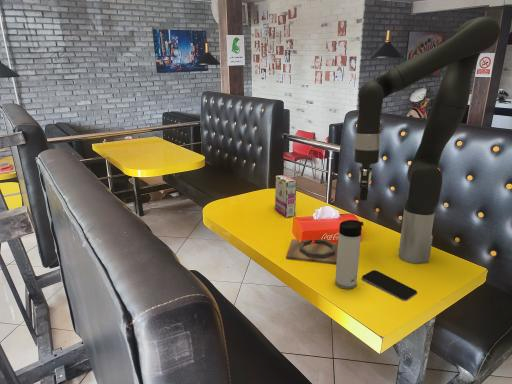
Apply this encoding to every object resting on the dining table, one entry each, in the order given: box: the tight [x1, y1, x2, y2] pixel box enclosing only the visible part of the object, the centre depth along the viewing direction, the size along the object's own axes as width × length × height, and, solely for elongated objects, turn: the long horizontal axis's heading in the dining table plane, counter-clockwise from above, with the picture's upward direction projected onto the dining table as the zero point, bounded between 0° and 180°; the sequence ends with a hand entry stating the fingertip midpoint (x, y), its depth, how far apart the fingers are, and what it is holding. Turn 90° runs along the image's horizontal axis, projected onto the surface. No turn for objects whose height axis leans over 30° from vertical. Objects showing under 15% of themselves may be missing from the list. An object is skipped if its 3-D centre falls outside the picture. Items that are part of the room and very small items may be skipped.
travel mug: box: [334, 219, 364, 290], centre depth 108 cm, size 6×7×20 cm
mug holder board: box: [285, 238, 338, 265], centre depth 129 cm, size 20×14×2 cm
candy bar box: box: [274, 174, 298, 219], centre depth 163 cm, size 11×5×16 cm, turn 23°
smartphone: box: [361, 269, 418, 302], centre depth 110 cm, size 7×1×15 cm
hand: (364, 196), depth 121 cm, fingers open, 8 cm apart
